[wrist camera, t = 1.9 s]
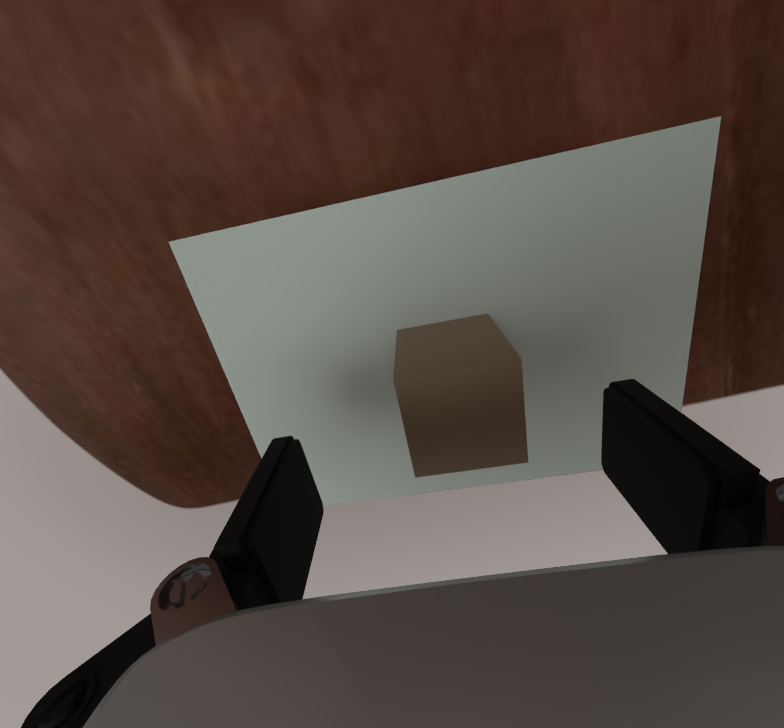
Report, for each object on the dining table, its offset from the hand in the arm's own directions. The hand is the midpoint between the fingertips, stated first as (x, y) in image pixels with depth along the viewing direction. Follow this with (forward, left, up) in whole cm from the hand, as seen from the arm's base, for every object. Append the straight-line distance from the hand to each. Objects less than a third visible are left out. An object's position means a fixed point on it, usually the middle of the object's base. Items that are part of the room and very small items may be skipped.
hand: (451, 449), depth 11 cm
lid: (-1, 0, -7) cm, 7 cm away
